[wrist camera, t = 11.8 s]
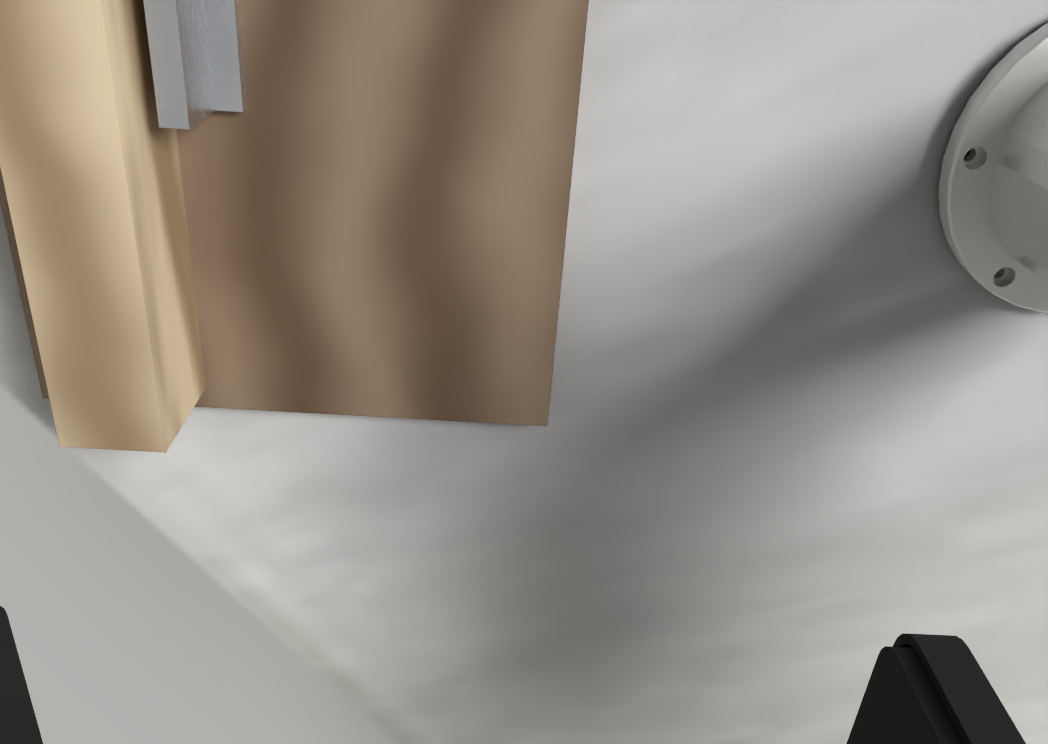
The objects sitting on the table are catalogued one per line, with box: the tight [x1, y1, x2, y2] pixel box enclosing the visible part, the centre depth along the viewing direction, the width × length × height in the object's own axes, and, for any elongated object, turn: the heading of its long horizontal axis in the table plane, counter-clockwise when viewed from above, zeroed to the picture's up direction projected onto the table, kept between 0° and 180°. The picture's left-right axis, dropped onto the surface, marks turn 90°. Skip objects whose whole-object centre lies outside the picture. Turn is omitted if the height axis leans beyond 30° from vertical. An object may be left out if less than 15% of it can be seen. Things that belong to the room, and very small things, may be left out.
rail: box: [0, 0, 206, 452], centre depth 32 cm, size 4×18×5 cm, turn 176°
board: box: [0, 0, 589, 426], centre depth 34 cm, size 22×23×2 cm
